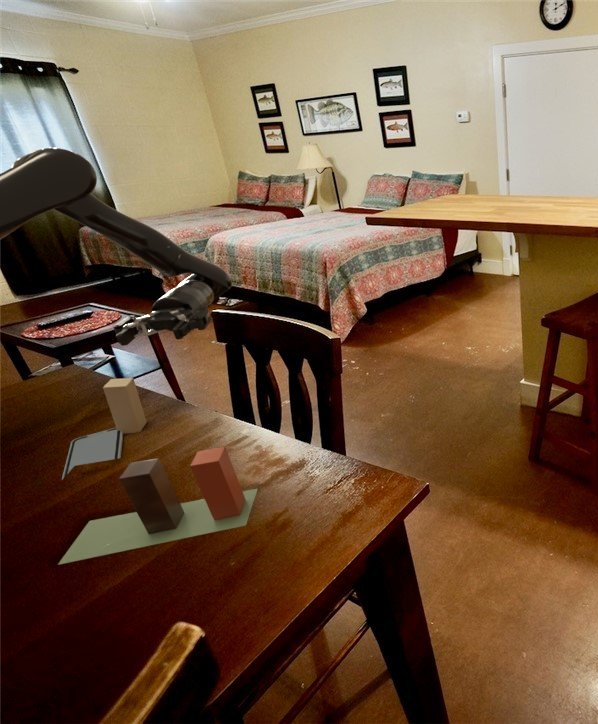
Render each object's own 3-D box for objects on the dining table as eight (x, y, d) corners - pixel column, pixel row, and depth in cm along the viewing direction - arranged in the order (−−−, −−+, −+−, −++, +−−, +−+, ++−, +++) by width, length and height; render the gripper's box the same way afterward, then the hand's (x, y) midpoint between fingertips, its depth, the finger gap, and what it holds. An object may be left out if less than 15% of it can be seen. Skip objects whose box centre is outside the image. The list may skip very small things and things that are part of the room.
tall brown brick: (148, 534, 66) (118, 478, 61) (157, 517, 69) (130, 462, 64) (176, 528, 67) (149, 473, 62) (184, 512, 70) (159, 458, 65)
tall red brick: (213, 520, 68) (189, 465, 64) (220, 504, 71) (198, 451, 66) (240, 515, 69) (218, 460, 64) (245, 499, 72) (225, 446, 67)
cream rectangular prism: (118, 434, 89) (102, 387, 84) (125, 424, 91) (110, 379, 87) (140, 432, 90) (126, 386, 86) (146, 422, 93) (133, 377, 89)
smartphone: (59, 486, 75) (71, 439, 86) (62, 490, 76) (73, 443, 86) (118, 468, 79) (122, 425, 90) (120, 472, 80) (124, 429, 90)
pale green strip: (60, 570, 62) (57, 564, 61) (92, 525, 69) (89, 520, 68) (247, 530, 68) (245, 525, 67) (259, 493, 75) (258, 488, 74)
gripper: (134, 294, 95) (92, 323, 81) (214, 287, 99) (187, 313, 85) (149, 328, 99) (111, 361, 85) (225, 320, 102) (201, 351, 89)
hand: (149, 337), depth 85 cm, fingers open, 8 cm apart
